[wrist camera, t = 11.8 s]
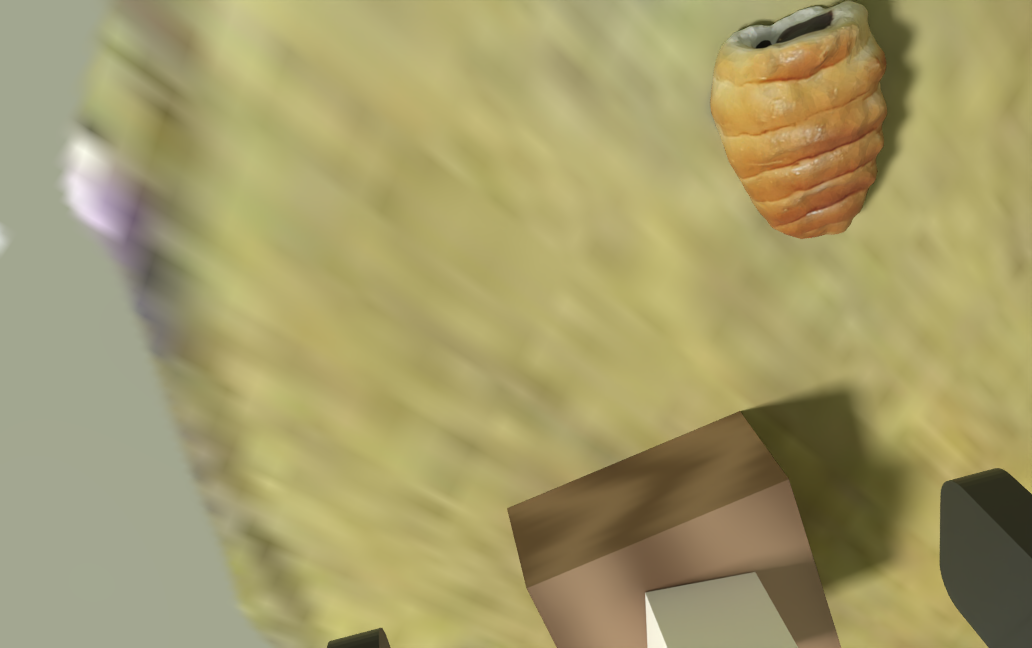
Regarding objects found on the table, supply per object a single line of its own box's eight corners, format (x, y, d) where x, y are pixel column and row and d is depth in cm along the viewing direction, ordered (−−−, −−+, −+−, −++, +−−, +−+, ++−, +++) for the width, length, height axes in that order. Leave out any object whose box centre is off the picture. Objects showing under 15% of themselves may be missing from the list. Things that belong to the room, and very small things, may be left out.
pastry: (881, 197, 42) (927, 227, 38) (736, 250, 42) (769, 285, 38) (849, -17, 37) (898, -5, 34) (687, 43, 37) (719, 60, 34)
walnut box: (737, 407, 45) (788, 479, 40) (794, 582, 51) (846, 665, 45) (506, 504, 46) (526, 588, 40) (587, 667, 51) (615, 760, 46)
